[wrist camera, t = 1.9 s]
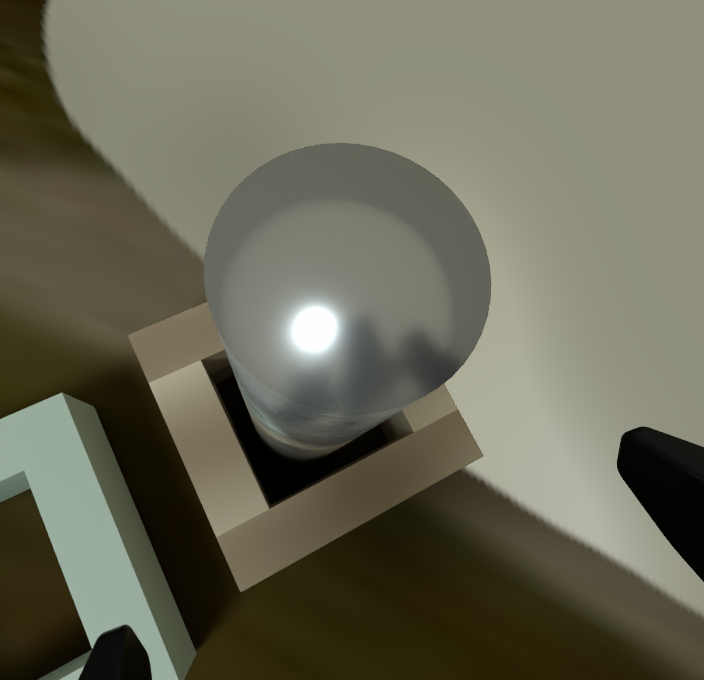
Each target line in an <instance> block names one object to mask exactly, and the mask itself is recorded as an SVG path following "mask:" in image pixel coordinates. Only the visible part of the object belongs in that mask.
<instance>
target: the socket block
mask: <svg viewBox="0 0 704 680" xmlns="http://www.w3.org/2000/svg"><path fill="white" fill-rule="evenodd" d="M30 488H31V490H32V493H33V495H34V498H35V500H36V503H37V506H38V508H39V511H40V514H41V516H42V519H43V521H44V524H45V527H46V529H47V532H48V535H49V537H50V540H51V542H52V545H53V548H54V550H55V553H56V555H57V558H58V561H59V563H60V566H61V569H62V571H63V574H64V576H65V579H66V582H67V584H68V587H69V590H70V592H71V595H72V597H73V600H74V603H75V605H76V608H77V611H78V613H79V616H80V618H81V621H82V624H83V626H84V629H85V631H86V634H87V637H88V639H89V642H90V645H91V647H92V649H93V646H94V644H95V642H96V640H97V638H98V637H99V636H100V635H101V634H102V633H104V632H106V631H108V630H111V629H113V628H116V627H119V626H121V625H125V624H126V625H129V626H130V627H131V628H132V629H133V631H134V632H135V634H136V635H137V637H138V638H139V640H140V642H141V643H142V645H143V646H144V648H145V649H146V651H147V653H148V656H149V660H150V665H151V673H152V680H184V678H185V676H186V674H187V672H188V670H189V668H190V666H191V664H192V662H193V660H194V658H195V656H196V654H197V653H196V651H195V648H194V646H193V643H192V641H191V639H190V636H189V634H188V631H187V629H186V627H185V624H184V622H183V619H182V617H181V615H180V612H179V610H178V607H177V605H176V603H175V600H174V598H173V595H172V593H171V591H170V588H169V586H168V583H167V581H166V578H165V576H164V574H163V571H162V569H161V566H160V564H159V562H158V559H157V557H156V554H155V552H154V550H153V547H152V545H151V542H150V540H149V538H148V535H147V533H146V530H145V528H144V526H143V523H142V521H141V518H140V516H139V514H138V511H137V509H136V506H135V504H134V502H133V499H132V497H131V494H130V492H129V489H128V487H127V485H126V482H125V480H124V477H123V475H122V473H121V470H120V468H119V465H118V463H117V461H116V458H115V456H114V453H113V451H112V449H111V446H110V444H109V441H108V439H107V437H106V434H105V432H104V429H103V427H102V425H101V422H100V420H99V417H98V415H97V412H96V410H95V408H94V406H91V405H89V404H87V403H85V402H82V401H80V400H78V399H75V398H73V397H71V396H69V395H66V394H64V393H60V394H57V395H55V396H53V397H50V398H48V399H46V400H43V401H41V402H39V403H37V404H34V405H32V406H30V407H27V408H25V409H23V410H20V411H18V412H16V413H13V414H11V415H9V416H6V417H4V418H2V419H0V502H2V501H4V500H6V499H9V498H11V497H13V496H15V495H17V494H19V493H21V492H24V491H26V490H28V489H30ZM91 651H92V650H90V651H89V652H87V653H85V654H83V655H81V656H79V657H78V658H76V659H74V660H72V661H70V662H69V663H67V664H65V665H63V666H61V667H59V668H58V669H56V670H54V671H52V672H50V673H49V674H47V675H45V676H43V677H41V678H39V679H38V680H78V679H79V676H80V674H81V672H82V670H83V668H84V666H85V664H86V661H87V659H88V657H89V655H90V653H91Z"/></svg>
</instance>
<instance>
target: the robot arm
mask: <svg viewBox="0 0 704 680" xmlns="http://www.w3.org/2000/svg"><path fill="white" fill-rule="evenodd" d="M617 468H618V471H619V473H620V475H621V477H622V478H623V480H624V481H625V483H626V484H627V485H628V487H629V488H630V489H631V491H632V492H633V493H634V495H635V496H636V497H637V499H638V500H639V502H640V503H641V505H642V506H643V507H644V509H645V510H646V511H647V513H648V514H649V515H650V517H651V518H652V520H653V521H654V522H655V524H656V525H657V526H658V528H659V529H660V531H661V532H662V533H663V535H664V536H665V537H666V538H667V540H668V541H669V542H670V544H671V545H672V546H673V547H674V549H676V551H677V552H678V553H679V554H680V556H681V557H682V558H683V559H684V560H685V561H686V562H687V564H688V565H689V566H690V567H691V568H692V569H693V570H694V571H695V572H696V574H697V575H698V576H699V577H700V578H701V579H702V580H703V582H704V447H701V446H699V445H696V444H693V443H690V442H688V441H685V440H682V439H679V438H677V437H674V436H671V435H668V434H665V433H663V432H660V431H657V430H654V429H652V428H648V427H638V428H636V429H633V430H630V431H628V432H625V433H624V435H622V438H621V442H620V448H619V453H618V459H617ZM78 680H152V673H151V665H150V660H149V656H148V653H147V651H146V649H145V648H144V646H143V645H142V643H141V642H140V640H139V638H138V637H137V635H136V634H135V632H134V631H133V629H132V628H131V627H130V626H129V625H126V624H125V625H121V626H119V627H116V628H113V629H111V630H108V631H106V632H104V633H102V634H101V635H100V636H99V637H98V638H97V640H96V642H95V644H94V646H93V649H92V651H91V653H90V655H89V657H88V659H87V661H86V664H85V666H84V668H83V670H82V672H81V674H80V676H79V679H78Z"/></svg>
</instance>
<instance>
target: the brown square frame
mask: <svg viewBox="0 0 704 680" xmlns="http://www.w3.org/2000/svg"><path fill="white" fill-rule="evenodd" d="M128 337H129V340H130V342H131V344H132V346H133V349H134V351H135V353H136V355H137V358H138V360H139V362H140V365H141V367H142V369H143V371H144V374H145V376H146V378H147V381H148V383H149V385H150V387H151V390H152V392H153V394H154V396H155V399H156V401H157V403H158V406H159V408H160V410H161V412H162V415H163V417H164V419H165V421H166V424H167V426H168V428H169V431H170V433H171V435H172V437H173V440H174V442H175V444H176V447H177V449H178V451H179V453H180V456H181V458H182V460H183V462H184V465H185V467H186V469H187V472H188V474H189V476H190V478H191V481H192V483H193V485H194V488H195V490H196V492H197V494H198V497H199V499H200V501H201V503H202V506H203V508H204V510H205V513H206V515H207V517H208V519H209V522H210V524H211V526H212V529H213V531H214V533H215V535H216V538H217V540H218V542H219V544H220V547H221V549H222V551H223V554H224V556H225V558H226V560H227V563H228V565H229V567H230V570H231V572H232V574H233V576H234V579H235V581H236V583H237V585H238V588H239V590H240V592H242V591H244V590H246V589H248V588H249V587H251V586H253V585H255V584H257V583H258V582H260V581H262V580H264V579H265V578H267V577H269V576H271V575H273V574H274V573H276V572H278V571H280V570H281V569H283V568H285V567H287V566H289V565H290V564H292V563H294V562H296V561H297V560H299V559H301V558H303V557H305V556H306V555H308V554H310V553H312V552H313V551H315V550H317V549H319V548H321V547H322V546H324V545H326V544H328V543H330V542H331V541H333V540H335V539H337V538H338V537H340V536H342V535H344V534H346V533H347V532H349V531H351V530H353V529H354V528H356V527H358V526H360V525H362V524H363V523H365V522H367V521H369V520H370V519H372V518H374V517H376V516H378V515H379V514H381V513H383V512H385V511H386V510H388V509H390V508H392V507H394V506H395V505H397V504H399V503H401V502H403V501H404V500H406V499H408V498H410V497H411V496H413V495H415V494H417V493H419V492H420V491H422V490H424V489H426V488H427V487H429V486H431V485H433V484H435V483H436V482H438V481H440V480H442V479H443V478H445V477H447V476H449V475H451V474H452V473H454V472H456V471H458V470H459V469H461V468H463V467H465V466H467V465H468V464H470V463H472V462H474V461H475V460H477V459H479V458H481V457H482V456H483V454H482V453H481V451H480V449H479V447H478V445H477V443H476V441H475V440H474V438H473V436H472V434H471V432H470V430H469V429H468V427H467V425H466V423H465V421H464V419H463V418H462V416H461V414H460V412H459V410H458V409H457V407H456V405H455V403H454V401H453V399H452V398H451V396H450V394H449V392H448V390H447V388H446V387H445V385H444V384H442V385H441V386H440V387H439V388H437V389H436V390H434V391H433V392H431V393H429V394H428V395H426V396H424V397H423V398H421V399H419V400H418V401H416V402H414V403H413V404H411V405H410V406H408V407H406V408H405V409H403V410H401V411H400V412H398V413H396V414H395V415H393V416H392V417H390V418H388V419H387V420H385V421H383V422H382V423H380V424H379V426H380V428H381V430H382V432H383V434H384V436H385V438H386V440H387V441H388V443H387V444H385V445H383V446H381V447H379V448H377V449H375V450H373V451H372V452H370V453H368V454H366V455H364V456H362V457H360V458H358V459H356V460H354V461H353V462H351V463H349V464H347V465H345V466H343V467H341V468H339V469H337V470H336V471H334V472H332V473H330V474H328V475H326V476H324V477H322V478H320V479H319V480H317V481H315V482H313V483H311V484H309V485H307V486H305V487H303V488H301V489H300V490H298V491H296V492H294V493H292V494H290V495H288V496H286V497H284V498H283V499H281V500H279V501H277V502H275V503H273V504H270V502H269V499H268V497H267V495H266V493H265V491H264V489H263V486H262V484H261V482H260V480H259V478H258V476H257V474H256V471H255V469H254V467H253V465H252V463H251V461H250V458H249V456H248V454H247V452H246V450H245V448H244V445H243V443H242V441H241V439H240V437H239V435H238V432H237V430H236V428H235V426H234V424H233V422H232V420H231V417H230V415H229V413H228V411H227V409H226V407H225V404H224V402H223V400H222V398H221V396H220V394H219V391H218V389H217V387H216V385H215V384H217V383H219V382H221V381H224V380H226V379H228V378H230V377H232V376H234V372H233V370H232V367H231V365H230V362H229V359H228V357H227V354H226V352H225V349H224V346H223V344H222V341H221V338H220V336H219V333H218V331H217V328H216V325H215V323H214V320H213V318H212V315H211V312H210V309H209V305H208V302H206V303H203V304H201V305H199V306H196V307H194V308H192V309H189V310H187V311H184V312H182V313H180V314H177V315H175V316H173V317H170V318H168V319H165V320H163V321H161V322H158V323H156V324H153V325H151V326H149V327H146V328H144V329H142V330H139V331H137V332H134V333H132V334H130V335H128Z"/></svg>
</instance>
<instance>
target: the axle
mask: <svg viewBox="0 0 704 680" xmlns="http://www.w3.org/2000/svg"><path fill="white" fill-rule="evenodd" d="M204 282H205V292H206V297H207V301H208V305H209V309H210V312H211V315H212V318H213V320H214V323H215V325H216V328H217V331H218V333H219V336H220V338H221V341H222V344H223V346H224V349H225V352H226V354H227V357H228V359H229V362H230V365H231V367H232V370H233V372H234V375H235V378H236V380H237V383H238V386H239V388H240V391H241V393H242V396H243V399H244V401H245V404H246V406H247V409H248V412H249V414H250V417H251V419H252V422H253V425H254V427H255V430H256V433H257V435H258V437H259V439H260V441H261V442H262V444H263V445H264V446H265V447H266V448H267V449H268V450H269V451H270V452H271V453H272V454H274V455H275V456H277V457H279V458H280V459H283V460H285V461H289V462H293V463H310V462H314V461H318V460H320V459H322V458H324V457H326V456H328V455H329V454H331V453H333V452H334V451H336V450H337V449H339V448H341V447H342V446H344V445H346V444H347V443H349V442H351V441H352V440H354V439H356V438H357V437H359V436H360V435H362V434H364V433H365V432H367V431H369V430H370V429H372V428H374V427H375V426H377V425H378V424H380V423H382V422H383V421H385V420H387V419H388V418H390V417H392V416H393V415H395V414H396V413H398V412H400V411H401V410H403V409H405V408H406V407H408V406H410V405H411V404H413V403H414V402H416V401H418V400H419V399H421V398H423V397H424V396H426V395H428V394H429V393H431V392H433V391H434V390H436V389H437V388H439V387H440V386H441V385H442V384H444V383H445V382H446V381H447V380H448V379H449V378H451V377H452V376H453V375H454V374H455V372H457V371H458V369H459V368H460V367H461V366H462V365H463V364H464V363H465V361H466V360H467V358H468V357H469V355H470V354H471V352H472V351H473V350H474V348H475V346H476V344H477V342H478V340H479V338H480V336H481V334H482V331H483V328H484V325H485V322H486V319H487V316H488V310H489V305H490V297H491V277H490V265H489V261H488V256H487V252H486V248H485V245H484V243H483V240H482V237H481V234H480V232H479V230H478V228H477V226H476V224H475V222H474V220H473V218H472V217H471V215H470V214H469V212H468V211H467V209H466V208H465V206H464V205H463V203H462V202H461V201H460V200H459V199H458V197H457V196H456V195H455V194H454V193H453V192H452V190H450V189H449V188H448V187H447V186H446V185H445V184H444V183H443V182H442V181H441V180H439V178H437V177H436V176H435V175H433V174H432V173H430V172H429V171H428V170H426V169H425V168H423V167H422V166H420V165H418V164H416V163H415V162H413V161H411V160H409V159H407V158H404V157H402V156H400V155H398V154H395V153H393V152H390V151H386V150H383V149H380V148H376V147H371V146H365V145H360V144H347V143H333V144H321V145H314V146H309V147H304V148H301V149H297V150H294V151H291V152H288V153H286V154H284V155H281V156H279V157H277V158H274V159H272V160H271V161H269V162H267V163H266V164H264V165H263V166H261V167H259V168H258V169H256V170H255V171H254V172H253V173H251V174H250V175H249V176H248V177H246V178H245V179H244V180H243V181H242V182H241V183H240V184H239V185H238V186H237V187H236V188H235V189H234V190H233V192H232V193H231V194H230V196H229V197H228V199H227V200H226V201H225V203H224V204H223V205H222V207H221V209H220V211H219V213H218V215H217V217H216V219H215V221H214V223H213V226H212V229H211V232H210V234H209V237H208V242H207V247H206V252H205V260H204Z"/></svg>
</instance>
